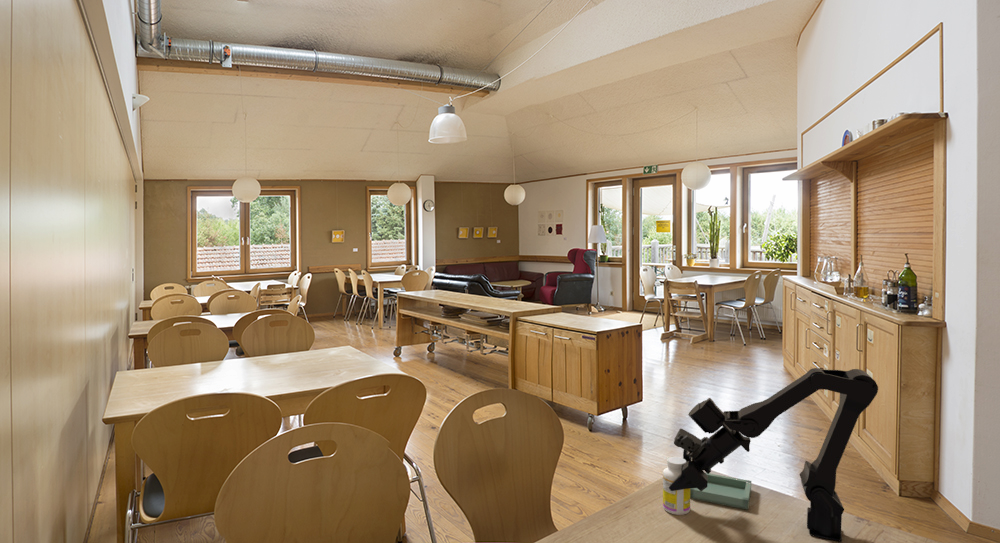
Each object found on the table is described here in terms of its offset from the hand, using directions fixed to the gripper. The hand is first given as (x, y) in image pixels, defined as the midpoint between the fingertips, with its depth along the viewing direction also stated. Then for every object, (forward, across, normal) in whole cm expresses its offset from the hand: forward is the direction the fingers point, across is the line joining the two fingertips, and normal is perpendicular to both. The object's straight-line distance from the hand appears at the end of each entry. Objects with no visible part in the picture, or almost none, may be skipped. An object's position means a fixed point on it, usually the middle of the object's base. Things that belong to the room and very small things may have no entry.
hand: (670, 483), depth 145 cm
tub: (-4, -13, +13) cm, 19 cm away
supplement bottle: (+4, 0, +6) cm, 7 cm away
